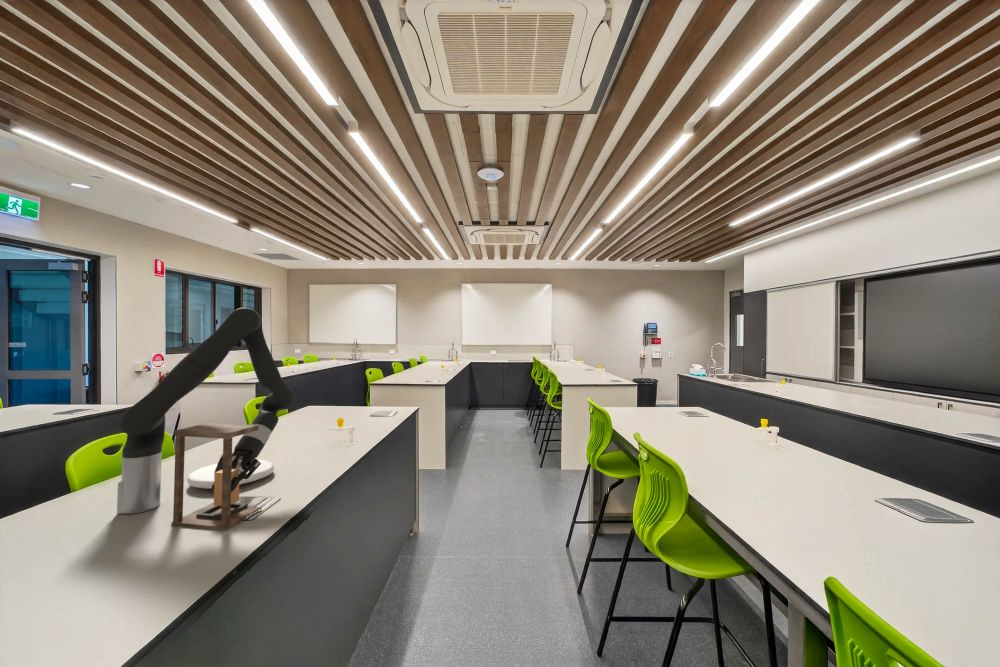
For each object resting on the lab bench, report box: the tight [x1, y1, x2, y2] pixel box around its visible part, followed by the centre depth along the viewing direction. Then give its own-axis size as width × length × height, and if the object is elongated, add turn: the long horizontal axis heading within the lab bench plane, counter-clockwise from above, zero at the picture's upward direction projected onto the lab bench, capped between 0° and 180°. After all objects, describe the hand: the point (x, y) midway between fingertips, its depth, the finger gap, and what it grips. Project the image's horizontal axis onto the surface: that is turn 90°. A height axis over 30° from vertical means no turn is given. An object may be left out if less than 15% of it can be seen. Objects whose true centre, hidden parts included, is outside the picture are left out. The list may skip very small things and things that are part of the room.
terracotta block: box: [213, 468, 240, 506], centre depth 117 cm, size 4×4×10 cm
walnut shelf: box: [171, 422, 262, 532], centre depth 115 cm, size 13×18×28 cm
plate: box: [186, 458, 275, 489], centre depth 145 cm, size 28×6×27 cm
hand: (221, 490), depth 115 cm, fingers closed on terracotta block, 4 cm apart
